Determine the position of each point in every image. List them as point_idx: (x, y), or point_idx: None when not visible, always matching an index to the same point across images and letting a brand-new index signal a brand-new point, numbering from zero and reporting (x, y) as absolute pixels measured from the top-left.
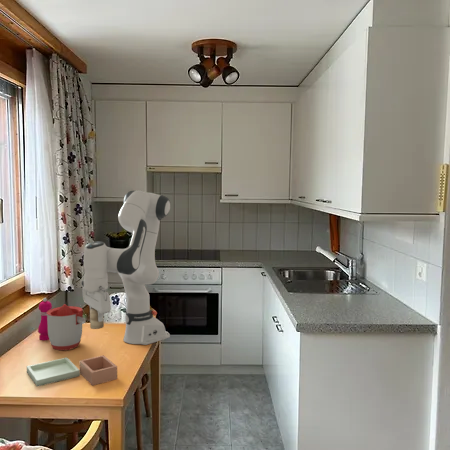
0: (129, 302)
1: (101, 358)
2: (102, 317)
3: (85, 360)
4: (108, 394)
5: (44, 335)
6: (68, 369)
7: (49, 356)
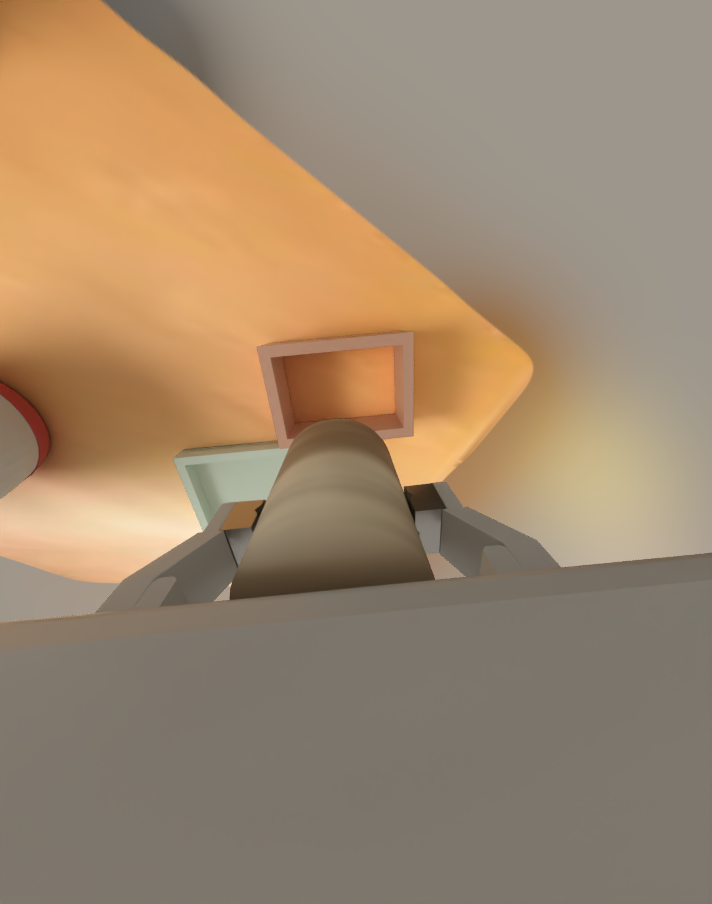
0: None
1: (272, 359)
2: (458, 505)
3: (285, 429)
4: (491, 394)
5: None
6: (260, 461)
7: (105, 486)
